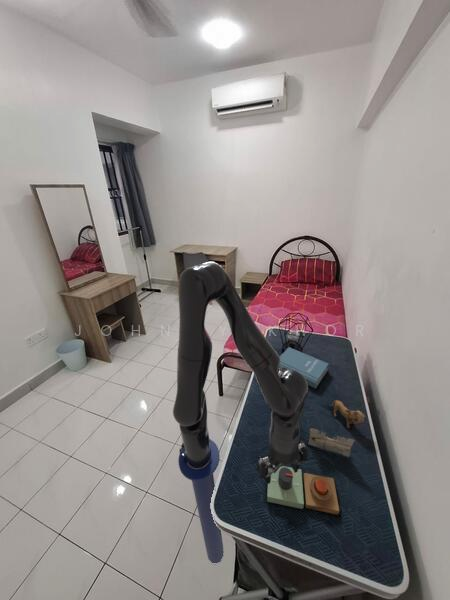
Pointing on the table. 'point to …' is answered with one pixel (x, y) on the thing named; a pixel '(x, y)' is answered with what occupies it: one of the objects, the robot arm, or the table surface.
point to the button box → (317, 500)
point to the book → (304, 366)
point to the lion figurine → (348, 413)
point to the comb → (330, 442)
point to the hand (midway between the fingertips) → (281, 474)
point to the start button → (321, 486)
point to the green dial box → (286, 497)
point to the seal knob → (285, 478)
